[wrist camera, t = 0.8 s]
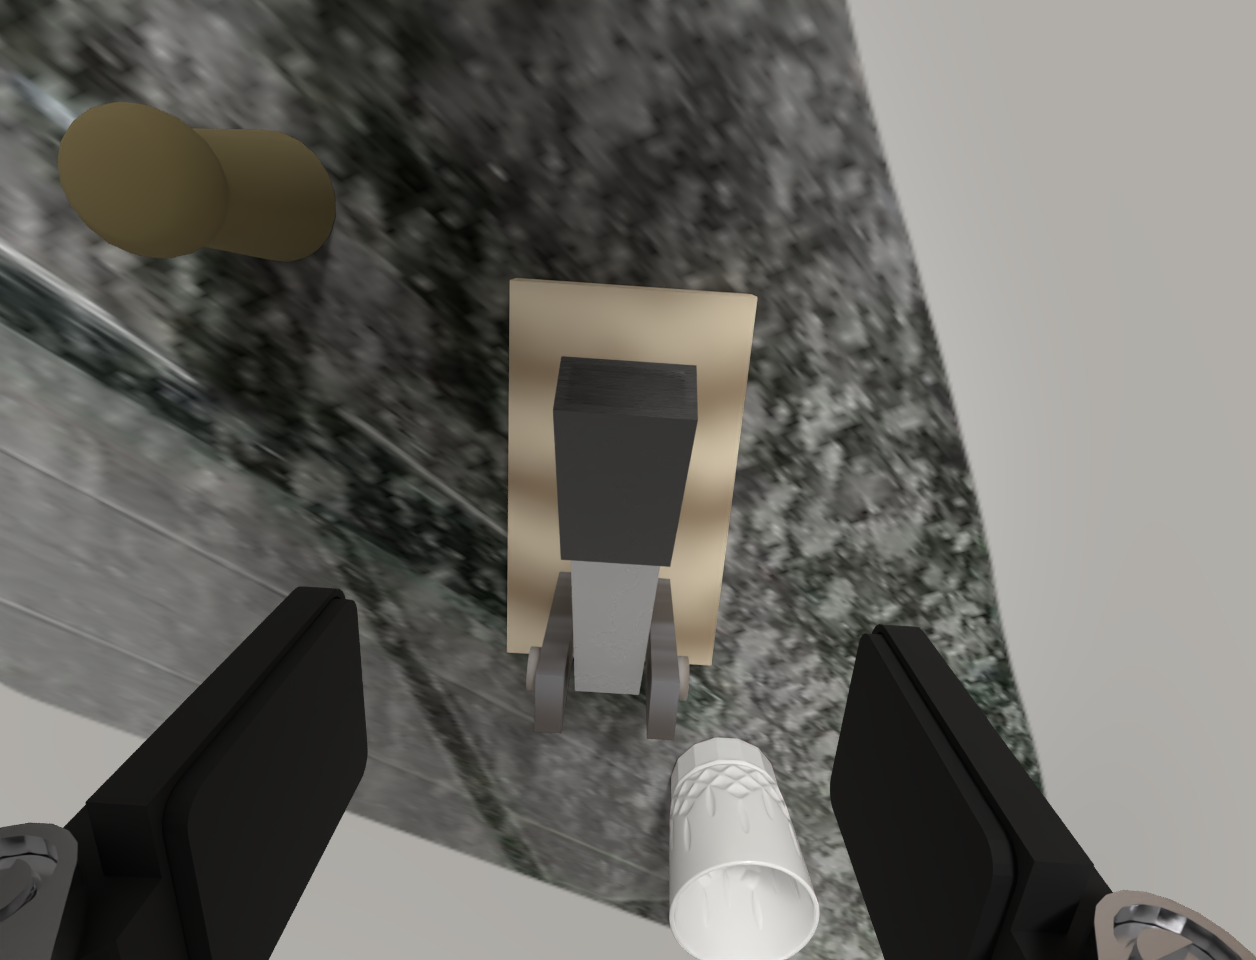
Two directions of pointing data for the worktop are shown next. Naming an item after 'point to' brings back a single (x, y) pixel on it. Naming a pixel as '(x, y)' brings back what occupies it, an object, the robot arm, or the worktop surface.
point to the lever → (619, 503)
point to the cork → (193, 186)
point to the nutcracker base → (537, 577)
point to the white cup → (735, 858)
